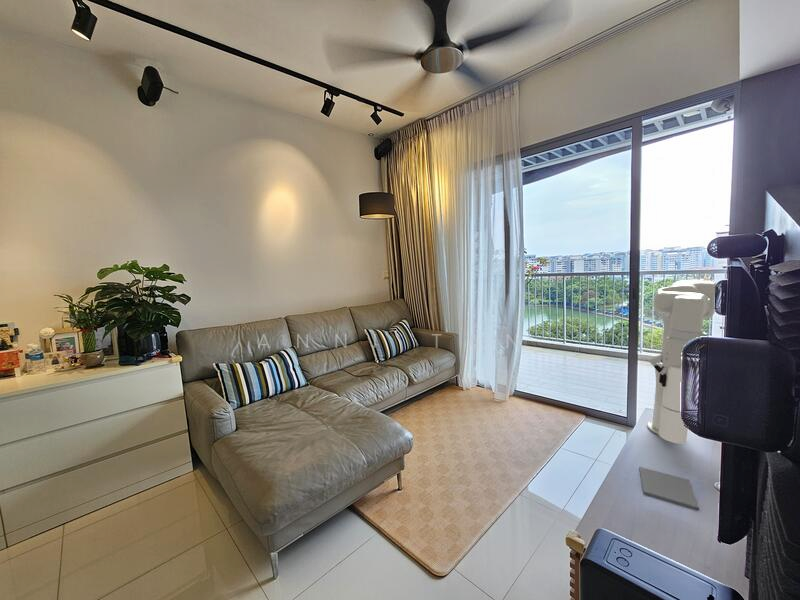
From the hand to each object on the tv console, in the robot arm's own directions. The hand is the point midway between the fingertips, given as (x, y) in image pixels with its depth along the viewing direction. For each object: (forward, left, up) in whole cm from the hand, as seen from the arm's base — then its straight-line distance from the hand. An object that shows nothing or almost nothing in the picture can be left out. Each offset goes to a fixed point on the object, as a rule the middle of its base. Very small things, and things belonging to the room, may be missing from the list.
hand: (678, 387), depth 106 cm
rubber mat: (+1, 0, -36) cm, 36 cm away
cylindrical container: (0, 0, -18) cm, 18 cm away
